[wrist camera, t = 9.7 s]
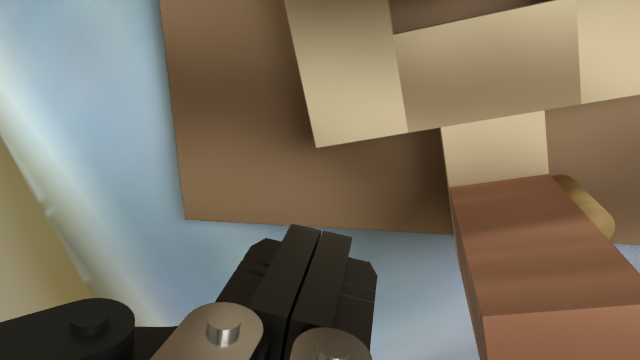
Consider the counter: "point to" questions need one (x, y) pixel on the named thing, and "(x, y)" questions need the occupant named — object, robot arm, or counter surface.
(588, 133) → the post base
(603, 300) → the square frame with handle
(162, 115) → the counter surface
